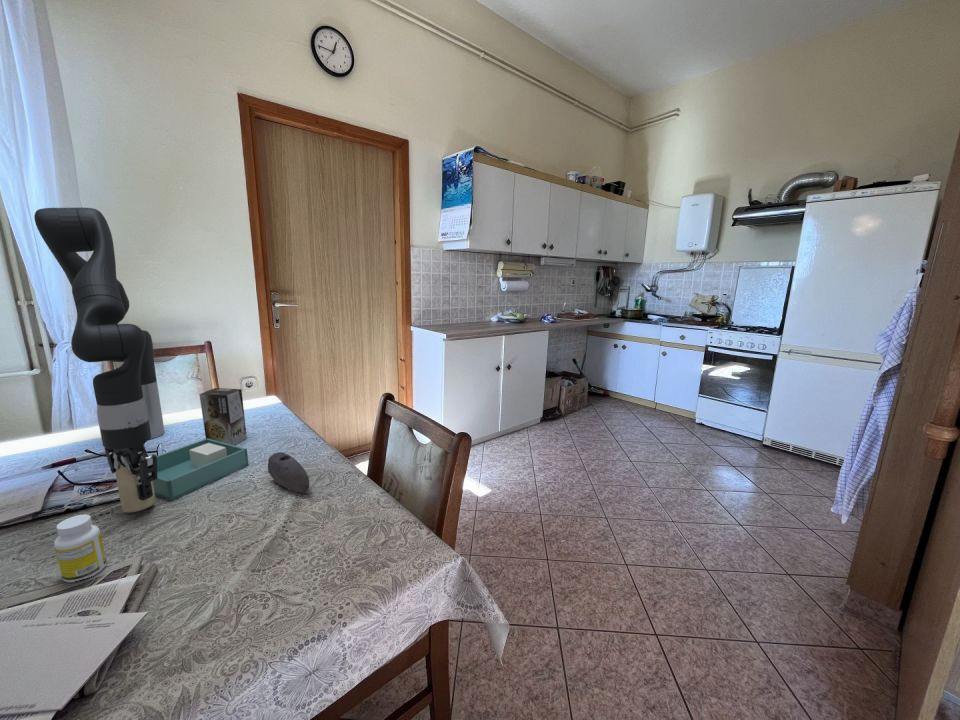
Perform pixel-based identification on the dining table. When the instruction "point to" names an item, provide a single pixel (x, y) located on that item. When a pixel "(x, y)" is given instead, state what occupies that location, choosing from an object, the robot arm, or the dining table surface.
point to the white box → (206, 454)
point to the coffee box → (223, 415)
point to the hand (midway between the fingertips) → (137, 494)
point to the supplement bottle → (79, 548)
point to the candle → (131, 492)
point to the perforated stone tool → (288, 472)
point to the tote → (194, 469)
